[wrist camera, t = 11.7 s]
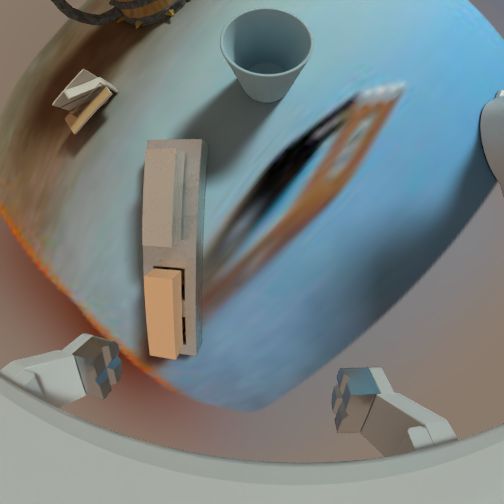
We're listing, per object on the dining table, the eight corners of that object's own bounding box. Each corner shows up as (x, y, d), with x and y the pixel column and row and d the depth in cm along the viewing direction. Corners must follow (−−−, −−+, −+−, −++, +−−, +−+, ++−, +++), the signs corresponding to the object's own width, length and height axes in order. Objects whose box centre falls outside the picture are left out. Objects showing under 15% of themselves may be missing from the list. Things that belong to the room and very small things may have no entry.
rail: (208, 144, 30) (193, 132, 23) (202, 341, 35) (189, 372, 28) (158, 145, 30) (133, 134, 23) (158, 336, 35) (138, 363, 28)
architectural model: (126, 100, 30) (96, 82, 22) (89, 138, 31) (55, 129, 23) (114, 85, 29) (84, 67, 22) (79, 122, 30) (45, 112, 23)
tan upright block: (190, 261, 33) (172, 279, 26) (191, 330, 35) (176, 359, 28) (166, 259, 33) (143, 276, 26) (168, 327, 35) (149, 355, 28)
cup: (307, 106, 29) (324, 70, 19) (240, 118, 29) (228, 84, 19) (291, 52, 27) (300, 3, 17) (228, 62, 28) (213, 16, 18)
